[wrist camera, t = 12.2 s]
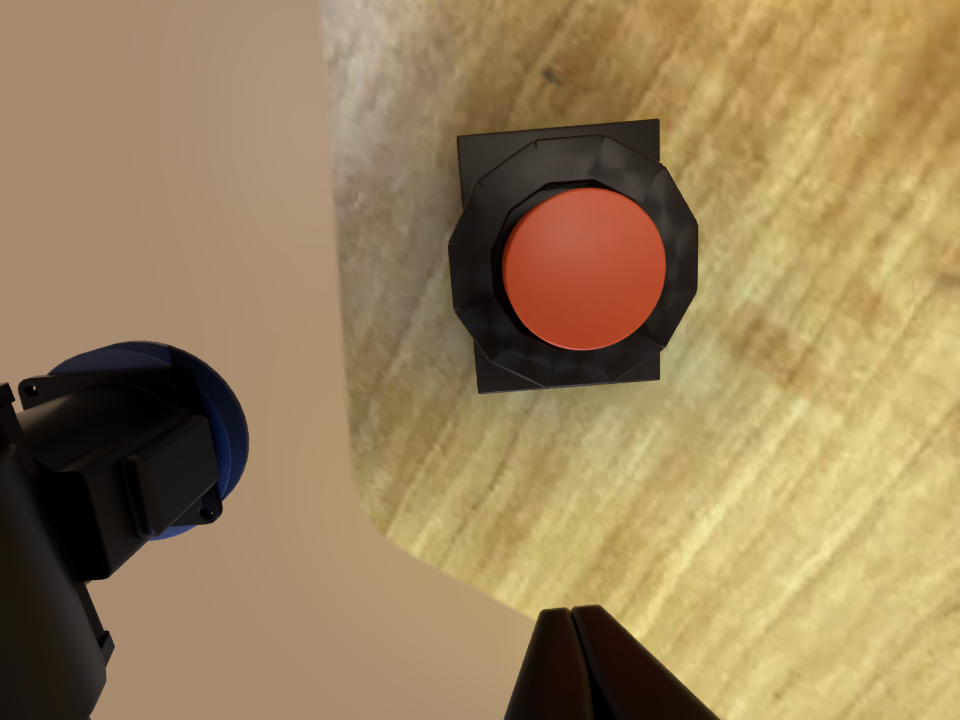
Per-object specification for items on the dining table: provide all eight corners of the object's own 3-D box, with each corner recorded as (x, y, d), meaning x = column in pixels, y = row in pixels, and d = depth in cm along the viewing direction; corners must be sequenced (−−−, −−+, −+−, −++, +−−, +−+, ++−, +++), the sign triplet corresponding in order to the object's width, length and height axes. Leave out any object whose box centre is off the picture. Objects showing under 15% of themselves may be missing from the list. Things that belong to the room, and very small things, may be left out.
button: (506, 340, 16) (510, 356, 14) (496, 200, 15) (499, 194, 13) (642, 330, 16) (666, 344, 14) (641, 188, 15) (667, 180, 13)
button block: (465, 378, 20) (462, 413, 16) (445, 148, 18) (436, 124, 14) (652, 363, 19) (696, 396, 16) (651, 130, 18) (701, 101, 14)
